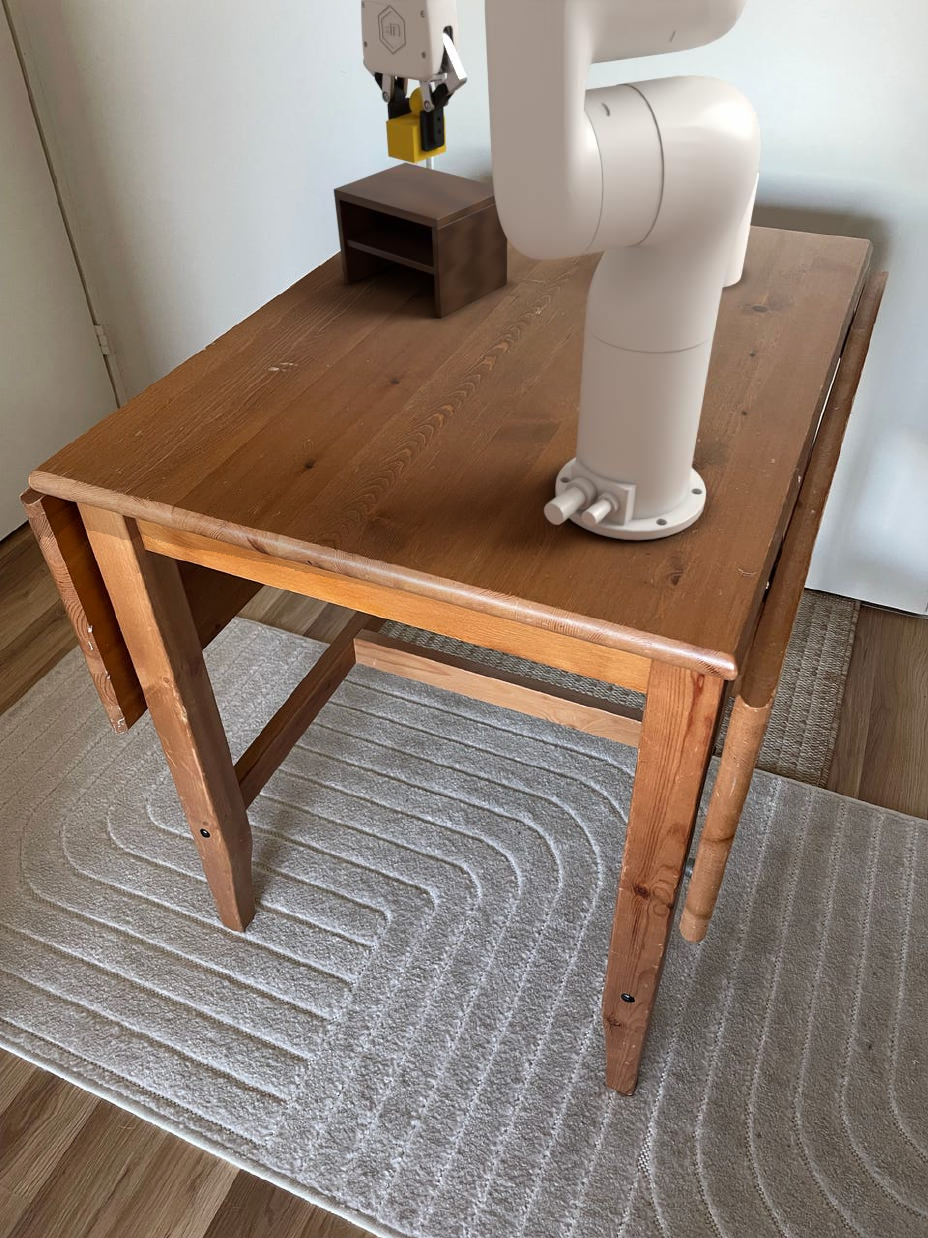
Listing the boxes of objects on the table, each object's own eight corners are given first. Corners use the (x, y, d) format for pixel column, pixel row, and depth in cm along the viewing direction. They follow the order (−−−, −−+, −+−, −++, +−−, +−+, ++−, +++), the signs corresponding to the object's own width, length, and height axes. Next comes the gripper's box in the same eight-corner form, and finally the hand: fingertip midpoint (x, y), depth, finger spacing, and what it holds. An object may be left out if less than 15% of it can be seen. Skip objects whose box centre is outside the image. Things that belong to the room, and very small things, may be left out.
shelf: (441, 318, 106) (436, 219, 98) (343, 282, 114) (333, 188, 106) (507, 283, 112) (507, 188, 105) (411, 252, 120) (405, 161, 113)
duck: (414, 163, 101) (410, 97, 96) (388, 156, 103) (383, 91, 98) (454, 148, 104) (452, 84, 100) (428, 141, 106) (425, 78, 102)
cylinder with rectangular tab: (651, 275, 113) (663, 170, 105) (691, 253, 118) (706, 151, 110) (715, 295, 109) (733, 187, 101) (755, 271, 113) (775, 166, 105)
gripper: (319, -61, 92) (340, 139, 105) (445, -48, 84) (451, 168, 96) (373, -71, 96) (386, 123, 109) (497, -59, 88) (497, 149, 101)
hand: (417, 142), depth 102 cm, fingers closed on duck, 4 cm apart
